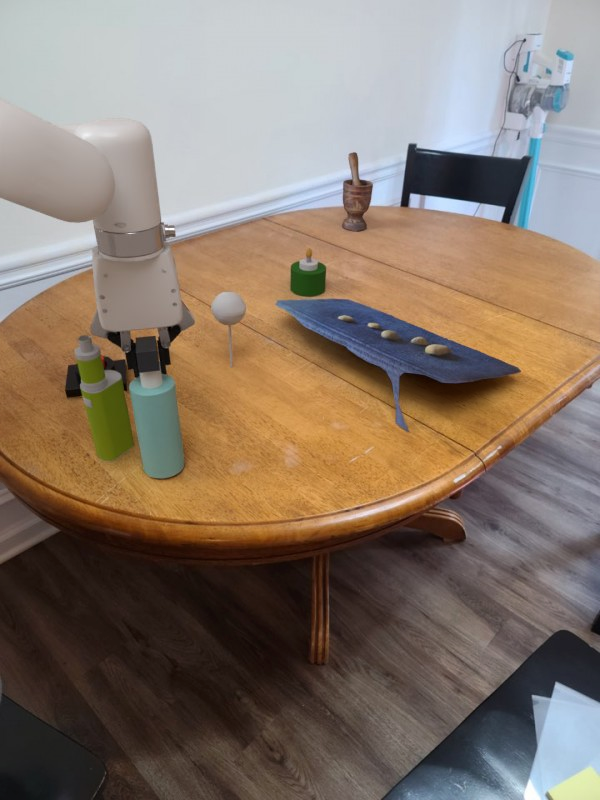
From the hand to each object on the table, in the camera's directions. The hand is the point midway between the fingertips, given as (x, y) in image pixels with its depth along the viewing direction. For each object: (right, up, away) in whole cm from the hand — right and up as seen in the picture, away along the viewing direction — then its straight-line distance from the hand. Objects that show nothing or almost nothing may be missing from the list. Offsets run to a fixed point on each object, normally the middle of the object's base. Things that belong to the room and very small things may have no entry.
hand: (150, 369), depth 76 cm
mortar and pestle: (+36, +49, +96) cm, 113 cm away
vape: (-8, -12, +10) cm, 17 cm away
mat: (+36, +4, +34) cm, 50 cm away
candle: (+22, +22, +58) cm, 66 cm away
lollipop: (+7, +2, +30) cm, 31 cm away
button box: (-16, -1, +24) cm, 29 cm away
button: (-16, +2, +22) cm, 27 cm away
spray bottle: (0, -14, +7) cm, 15 cm away
